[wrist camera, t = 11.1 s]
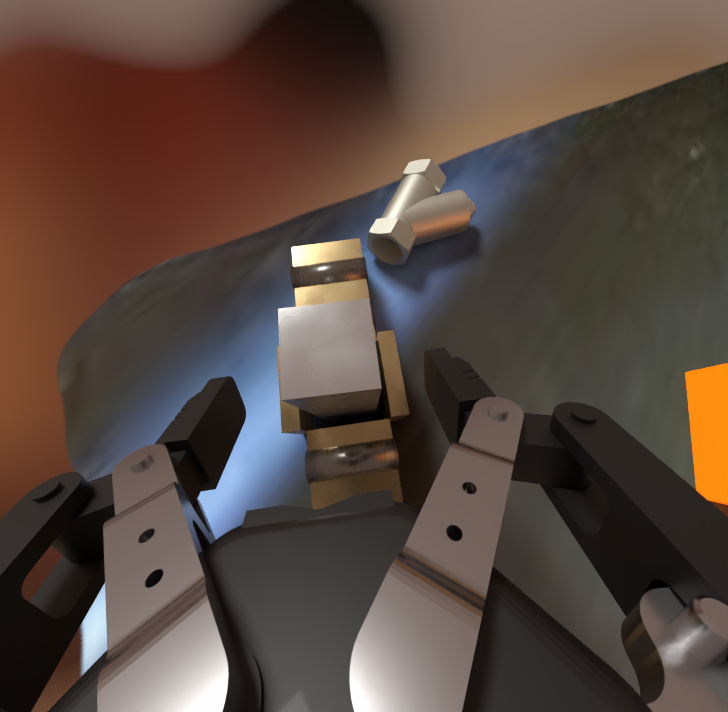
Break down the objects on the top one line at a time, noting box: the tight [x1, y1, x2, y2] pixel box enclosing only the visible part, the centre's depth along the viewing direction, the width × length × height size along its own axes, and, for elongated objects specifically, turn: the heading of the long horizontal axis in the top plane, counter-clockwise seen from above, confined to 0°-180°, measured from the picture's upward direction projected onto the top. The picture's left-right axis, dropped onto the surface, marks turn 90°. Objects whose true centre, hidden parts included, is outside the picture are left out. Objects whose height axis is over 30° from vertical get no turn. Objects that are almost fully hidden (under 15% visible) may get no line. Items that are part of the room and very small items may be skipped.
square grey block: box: [278, 298, 382, 420], centre depth 15 cm, size 4×4×11 cm
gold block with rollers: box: [277, 238, 409, 509], centre depth 18 cm, size 7×21×5 cm, turn 8°
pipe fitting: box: [367, 159, 476, 265], centre depth 23 cm, size 8×4×7 cm
